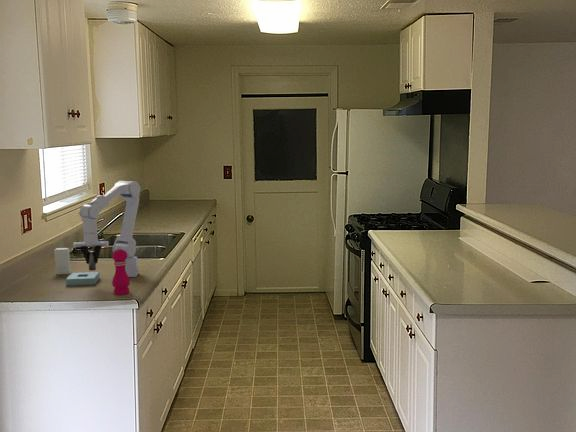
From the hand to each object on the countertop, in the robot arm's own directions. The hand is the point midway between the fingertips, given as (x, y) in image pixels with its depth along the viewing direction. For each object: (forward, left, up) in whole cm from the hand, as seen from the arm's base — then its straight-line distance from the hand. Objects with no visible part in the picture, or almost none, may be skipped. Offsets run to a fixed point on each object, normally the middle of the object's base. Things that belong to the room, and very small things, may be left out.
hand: (92, 263), depth 274 cm
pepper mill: (-14, +15, -10) cm, 23 cm away
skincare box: (+19, -24, -10) cm, 32 cm away
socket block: (+6, -6, -10) cm, 13 cm away
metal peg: (0, 0, -3) cm, 3 cm away
